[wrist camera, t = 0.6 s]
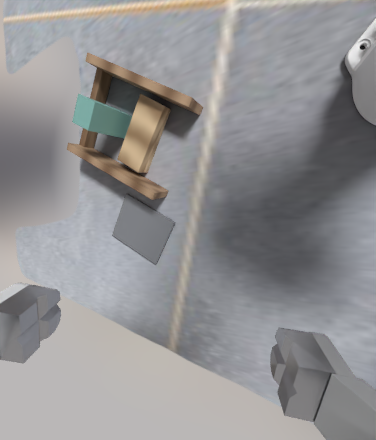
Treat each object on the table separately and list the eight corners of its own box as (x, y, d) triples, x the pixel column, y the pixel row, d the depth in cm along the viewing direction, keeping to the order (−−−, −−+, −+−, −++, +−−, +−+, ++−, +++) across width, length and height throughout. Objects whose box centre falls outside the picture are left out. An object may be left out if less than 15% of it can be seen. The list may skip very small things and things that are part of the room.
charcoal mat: (127, 193, 52) (126, 194, 52) (175, 222, 49) (174, 223, 48) (113, 234, 56) (112, 235, 56) (156, 263, 53) (155, 264, 53)
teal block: (118, 109, 48) (78, 93, 38) (132, 116, 47) (94, 102, 38) (112, 131, 50) (72, 121, 40) (125, 138, 49) (88, 130, 39)
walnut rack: (203, 107, 42) (192, 97, 36) (166, 196, 48) (152, 199, 43) (109, 66, 47) (87, 52, 42) (87, 151, 54) (66, 149, 48)
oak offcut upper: (146, 96, 44) (140, 93, 42) (169, 109, 43) (164, 106, 41) (123, 159, 49) (117, 159, 47) (143, 172, 48) (138, 172, 46)
